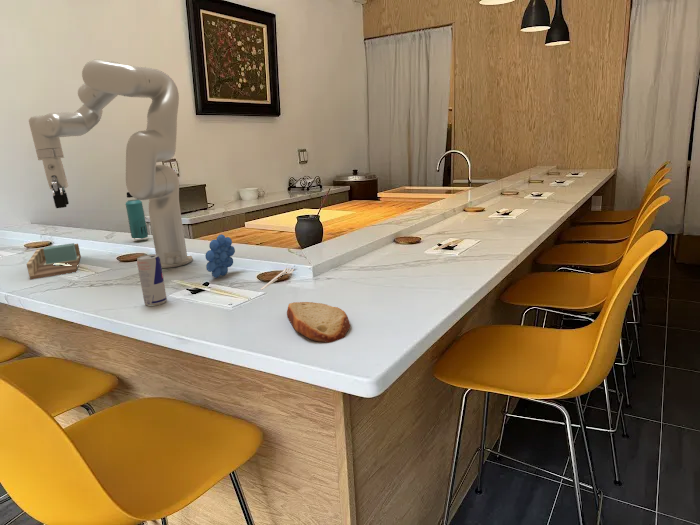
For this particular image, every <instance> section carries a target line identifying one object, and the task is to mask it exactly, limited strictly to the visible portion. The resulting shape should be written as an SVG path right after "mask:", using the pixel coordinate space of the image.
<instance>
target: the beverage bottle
mask: <svg viewBox="0 0 700 525" xmlns="http://www.w3.org/2000/svg"><path fill="white" fill-rule="evenodd" d="M127 198H134V197H133V196H131V194H130V193H129V191H127V192H126V199H127ZM124 205H125V209H126V214H127V218H128V220H127V221H128V226H129V231H130V237H131V238H141V239H145V238H147V237H149V233H148V232H149V231H148V225H147V221H146V216H145V210H144V206H143V200H138V199H129V200H127V201H126V202H125V204H124Z"/></svg>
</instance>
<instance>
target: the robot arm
mask: <svg viewBox="0 0 700 525" xmlns="http://www.w3.org/2000/svg"><path fill="white" fill-rule="evenodd" d="M81 77H82V80H83V82H84V83H83V84H81V85H80V87H78V89H77V96H78V98H79V101H80V102H81V103H82V105H81V106H80V107H79V108H78V109H77V110H76V111H74V112H69V111H68V112H67V111H66V112H50V113H47V114H43V115H33V116H30V117H29V119H28V124H29V128H30V132H31V136H32V141H33V144H34V148H35V152H36V156H37V157H36V158H37V160H38V161H42V164H43V169H44V172H45V173H44V174H45V176H46V180H47V185H48V186H49V187H48V188H49V189H50V190H51V191H52V198H53V202H54V207H55V209H62V208H67V205H69V199H68V194H67V192H66V189H67V188H68V187H69V184H68V183H69V182H68V181H67V176H66V172H65V168H64V164H63V161H62V159H63V158H65V157H64V151H63V148H62V144H61V139H60V138H65V137H66V138H69V137H79V136H80V137H81V136H84V135H86V134H88V133H89V132H90V131H91V130H93V128H94V127H96V126H97V125H98V124H99V122H100V121H101V119H102V116H103V110H104V108H106V107H107V106H108V105H109V104H110V103H111V102H112V101H113V100H114V99H116V98H117V97H118V96H123V97H129V98H141V99H142V98H144V99H145V98H146V99H148V98H149V99H151V103H150V106H149V108H148V109H147V114H146V119H147V120H146V122H147V123H146V128H145V129H146V130H139V131H136V132H134V133H133V134H132V135H130V137H129V139H128V141H127V143H126V148H125V155H126V156H125V186H126V190H127V192H129V193H130V194H131V196H133V197H132V198H134V200H136V199H138V200H140V201H147V200H149V201H148V216H149V223H150V229H151V234H152V240H153V245H154V250H155V254H157V255H158V256H159V258H160V262H161V268H162V269H168V268H176V267H181V266H184V265H188V264H190V263H192V262H193V261H194V260H193V256H192V255H190V256H187V255H188V253H187V245H186V240H185V239H186V238H185V233H184V227H183V226H184V225H183V220H182V213H181V212H182V211H181V205H180V180H179V176H178V174H177V172H176V171H175V169H173V168H172V167H170V166H168V165H165V164H157V163H162V162H166V161H169V160H171V159H173V157H175V154H176V149H177V130H178V128H177V127H178V111H179V101H180V95H179V94H180V93H179V90H178V86H177V84H176V82H175V81H174V79H173V78H172V77H171V76H170V75H168V74H167V73H166V72H164V71H162V70H159V69H156V68H152V67H146V66H145V67H143V66H135V65H129V64H128V65H127V64H122V63H120V62H117V61H113V60H103V59H91V60H90V61H89V60H88V61H87V62H86V64H85V65H84V66H83V67H82V71H81Z"/></svg>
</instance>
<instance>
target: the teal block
mask: <svg viewBox="0 0 700 525" xmlns="http://www.w3.org/2000/svg"><path fill="white" fill-rule="evenodd" d="M74 244H75V243H74V242H73V243H65V244H59V245H58V244H57V245H52V246H45V247H43V248H44V255H45V259H46V263H47V264H51V263H57V262H64V261H71V260H76V259H77V254H76V250H75V245H74Z"/></svg>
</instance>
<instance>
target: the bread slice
mask: <svg viewBox="0 0 700 525" xmlns="http://www.w3.org/2000/svg"><path fill="white" fill-rule="evenodd" d="M286 310H287V311H286V316H287V319H288V321H289V323H291V326H292V328H293V329H294V330H295V331H296V332H297V333H299V334H301V335H302V336H303V337H305V338H307V339H309V340H311V341H314V342H318V343H325V344H328V343H333V342H337V341H340V340H341V339H344V338H345V337H346V334H347V332H348V331H349V329H351V323H350V320H349V317H348V315H347V313H346V312H345V311H344V310H343V309H342V308H340V307H338V306H337V307H336V306H332V305H328V304H325V303H321V302H313V301H312V302H310V301H297V302H291V303H288V306H287V309H286Z"/></svg>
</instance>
